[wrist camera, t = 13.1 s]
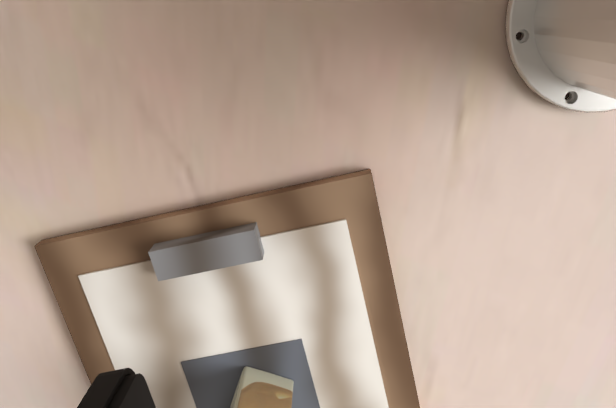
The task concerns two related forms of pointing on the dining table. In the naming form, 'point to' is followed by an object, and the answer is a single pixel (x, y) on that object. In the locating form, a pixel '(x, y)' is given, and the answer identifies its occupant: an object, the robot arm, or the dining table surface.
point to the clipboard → (242, 298)
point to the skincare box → (262, 390)
